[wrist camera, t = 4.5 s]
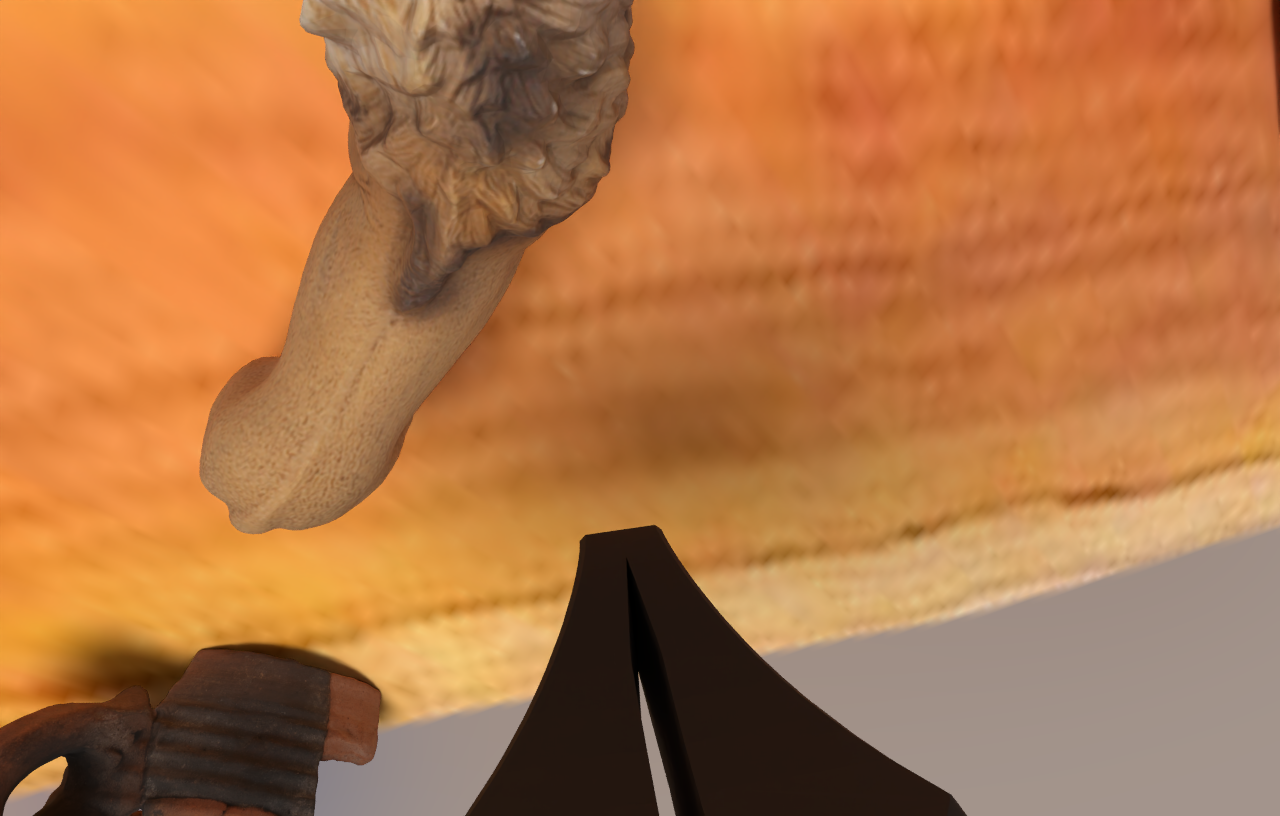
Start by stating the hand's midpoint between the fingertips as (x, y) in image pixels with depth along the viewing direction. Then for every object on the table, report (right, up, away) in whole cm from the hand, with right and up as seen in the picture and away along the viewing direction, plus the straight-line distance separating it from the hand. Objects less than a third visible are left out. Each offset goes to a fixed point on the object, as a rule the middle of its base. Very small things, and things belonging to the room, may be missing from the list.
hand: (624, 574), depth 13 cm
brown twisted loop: (-13, -7, +11) cm, 18 cm away
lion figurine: (-5, +8, +4) cm, 10 cm away
